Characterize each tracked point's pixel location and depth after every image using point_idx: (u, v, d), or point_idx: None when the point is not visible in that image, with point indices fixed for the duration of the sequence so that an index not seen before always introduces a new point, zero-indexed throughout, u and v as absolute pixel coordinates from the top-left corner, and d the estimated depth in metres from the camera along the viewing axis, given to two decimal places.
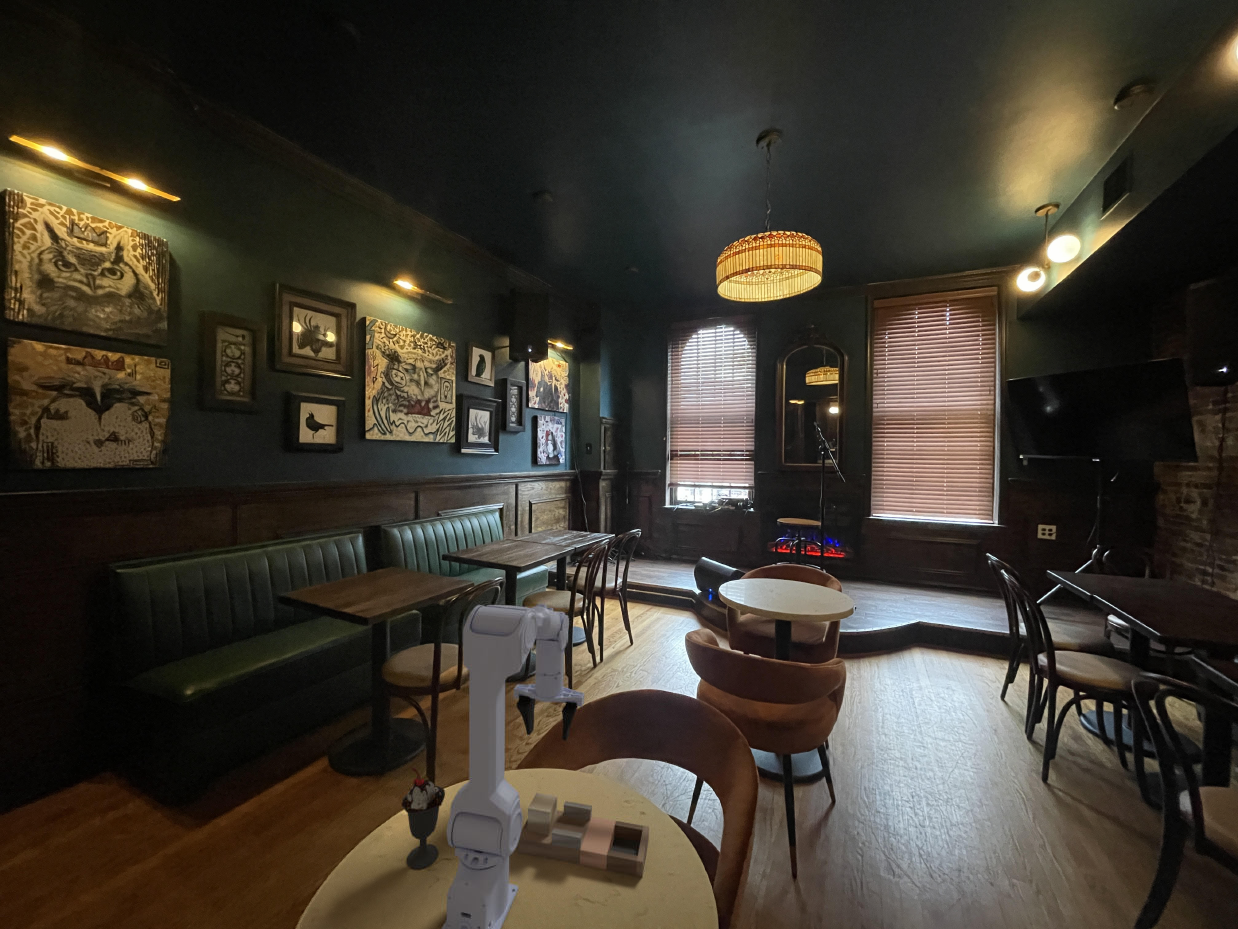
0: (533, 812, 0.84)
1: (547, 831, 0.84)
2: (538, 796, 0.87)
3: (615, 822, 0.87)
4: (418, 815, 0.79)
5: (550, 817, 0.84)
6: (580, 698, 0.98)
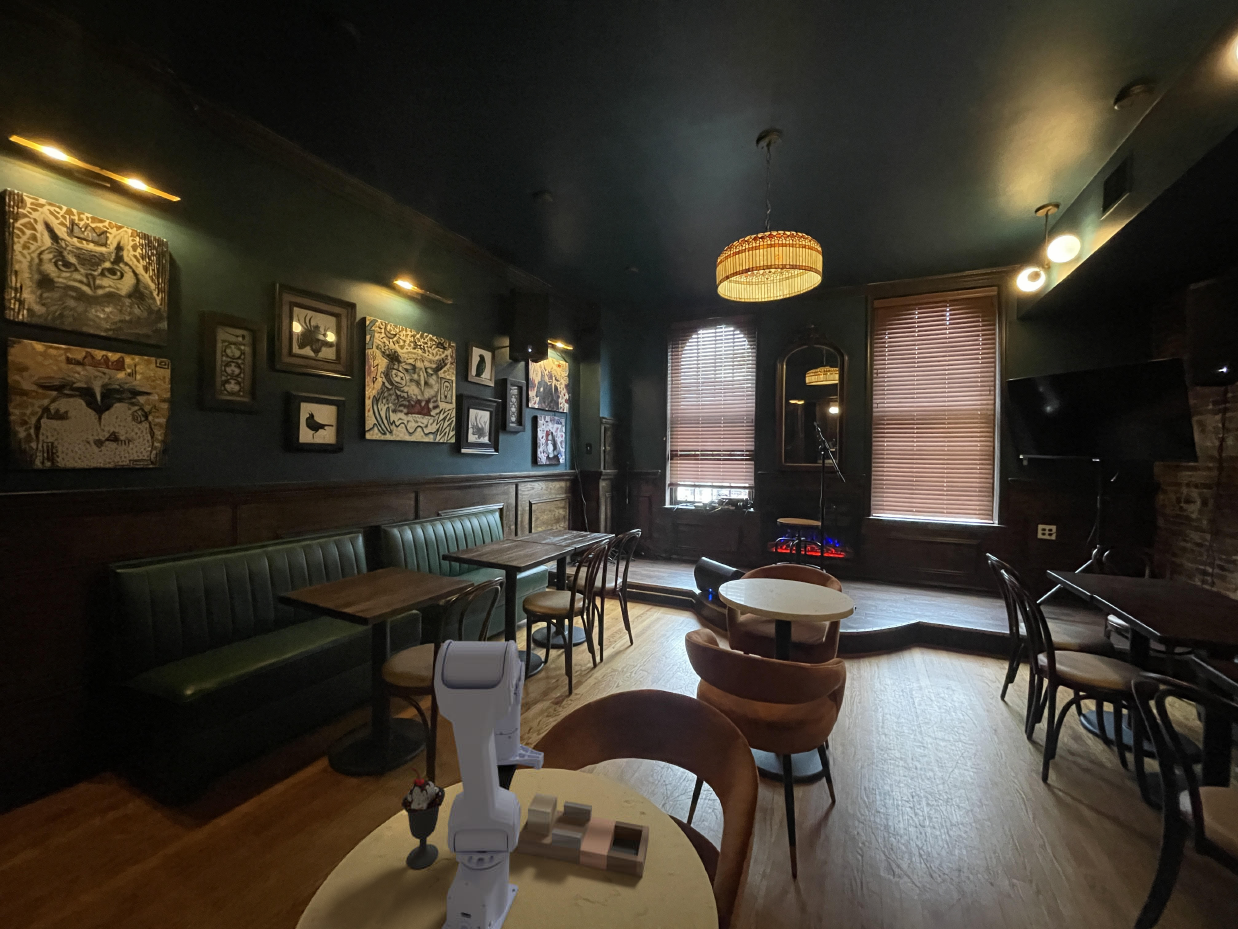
0: (533, 812, 0.84)
1: (547, 831, 0.84)
2: (538, 796, 0.87)
3: (615, 822, 0.87)
4: (418, 815, 0.79)
5: (550, 817, 0.84)
6: (538, 760, 0.85)
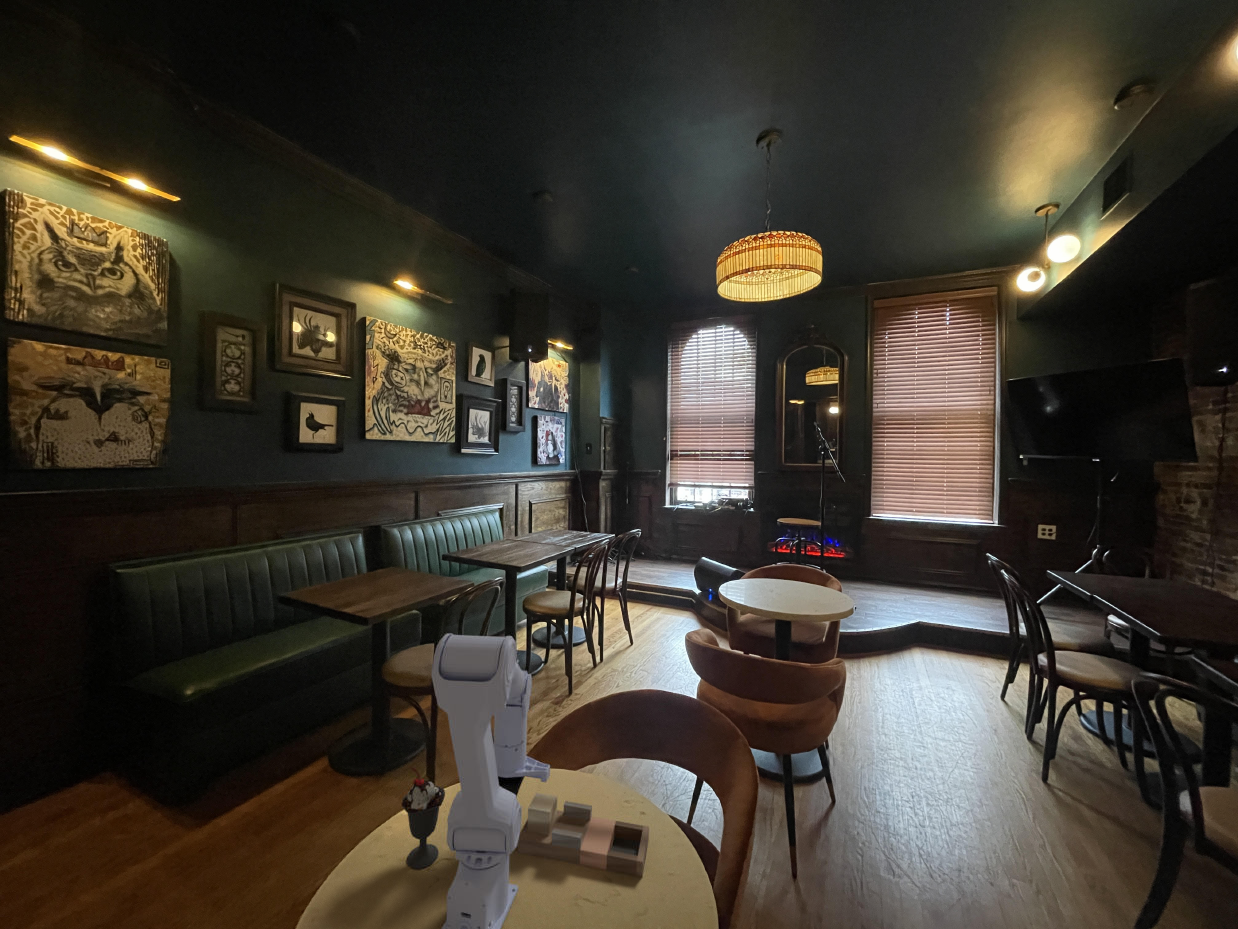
0: (533, 812, 0.84)
1: (547, 831, 0.84)
2: (538, 796, 0.87)
3: (615, 822, 0.87)
4: (418, 815, 0.79)
5: (550, 817, 0.84)
6: (544, 772, 0.85)
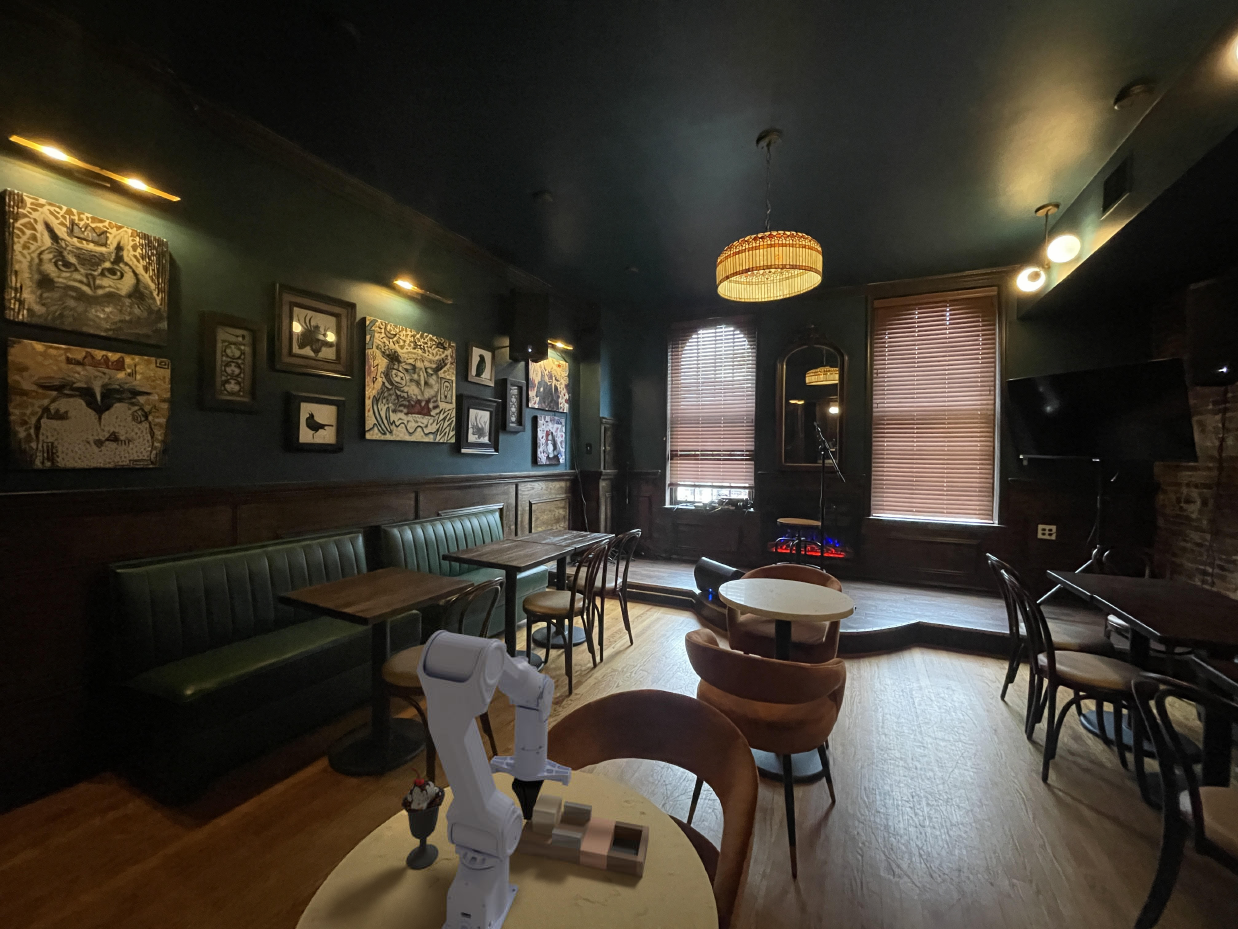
0: (538, 813, 0.84)
1: None
2: (543, 797, 0.87)
3: (615, 822, 0.87)
4: (418, 815, 0.79)
5: (555, 818, 0.84)
6: (566, 776, 0.84)
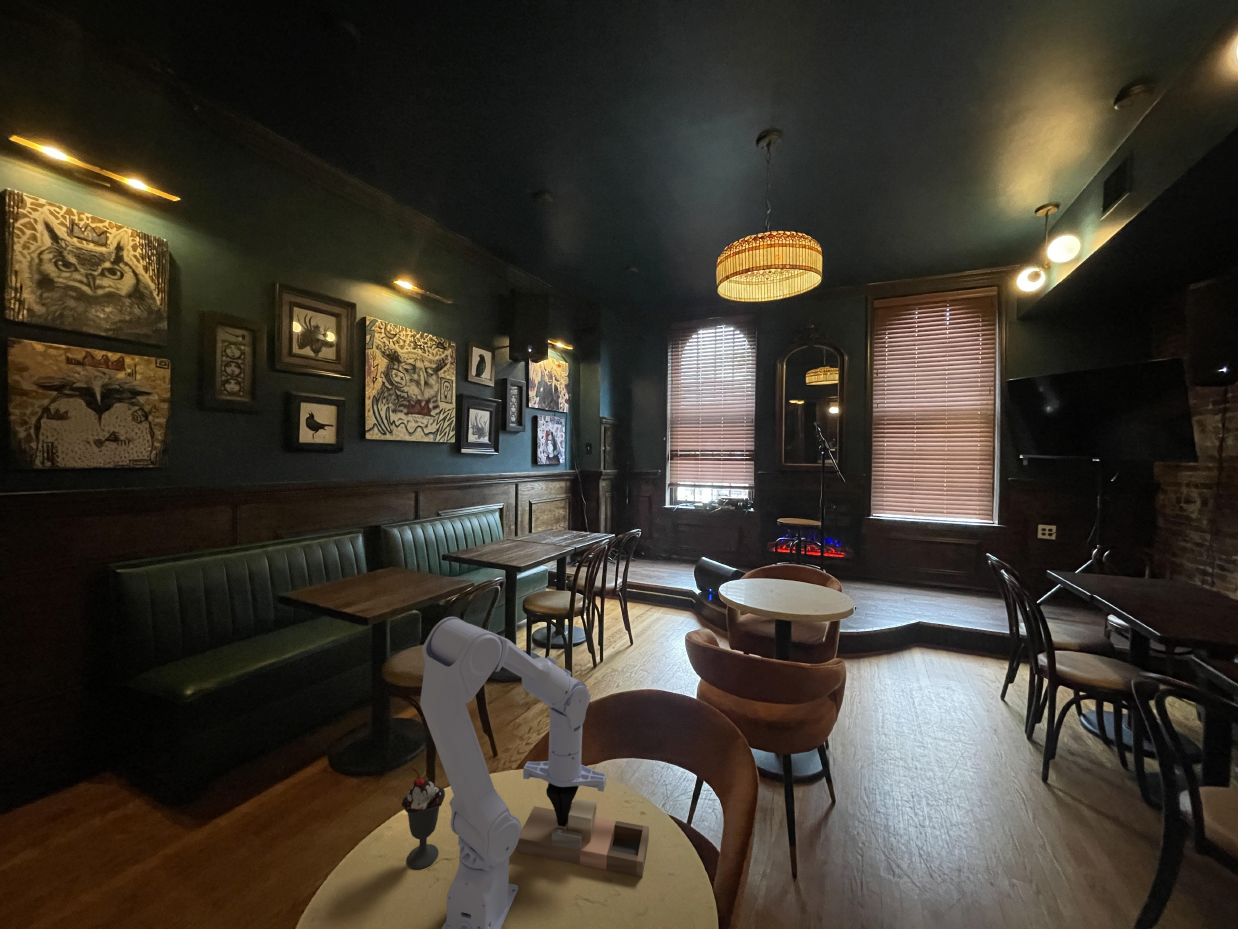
0: (574, 818, 0.83)
1: (588, 838, 0.83)
2: (577, 802, 0.86)
3: (615, 822, 0.87)
4: (418, 815, 0.79)
5: (591, 823, 0.83)
6: (602, 781, 0.83)
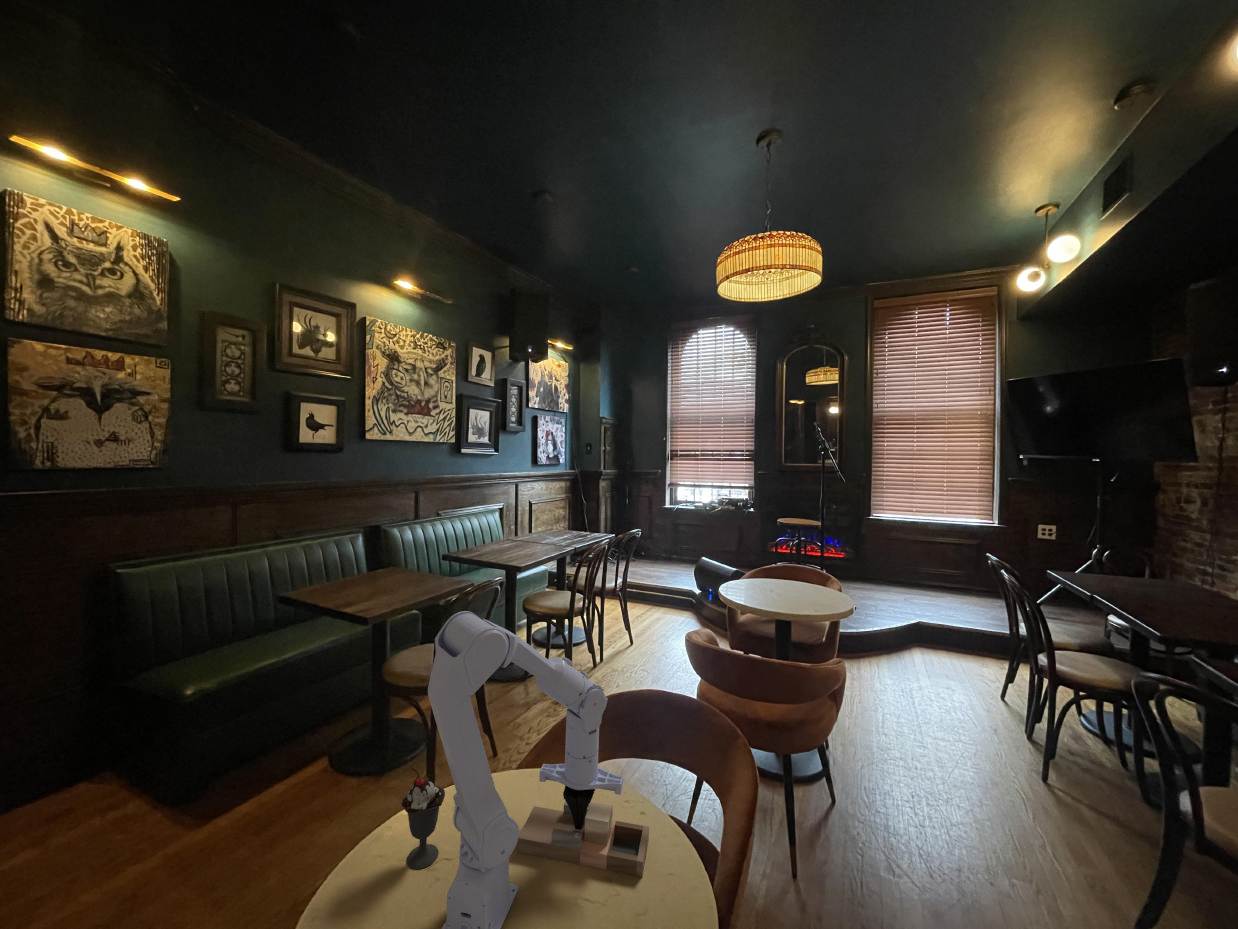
0: (591, 822, 0.83)
1: (605, 841, 0.82)
2: (593, 805, 0.86)
3: (615, 822, 0.87)
4: (418, 815, 0.79)
5: (608, 827, 0.82)
6: (619, 785, 0.82)
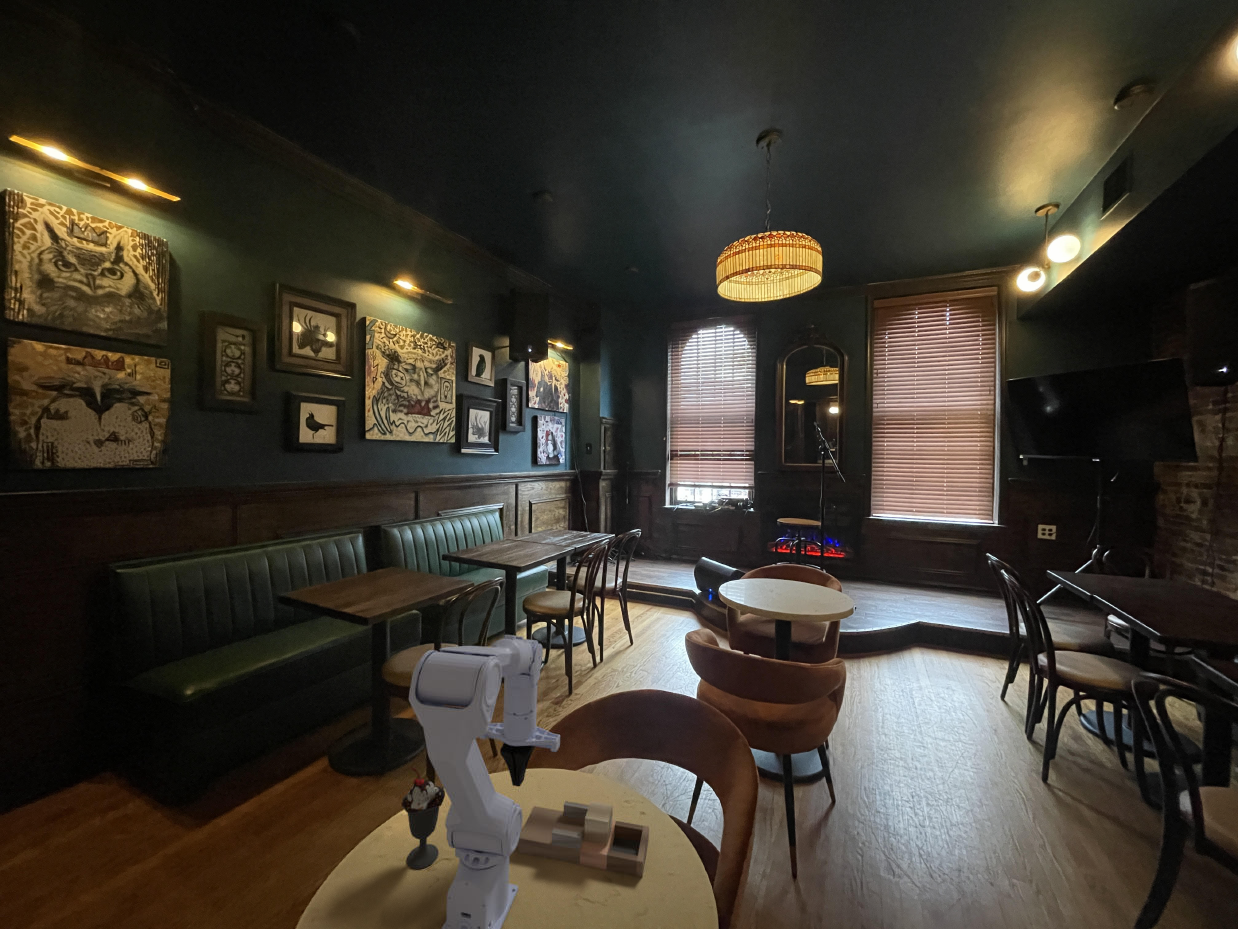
0: (590, 822, 0.83)
1: (605, 841, 0.82)
2: (593, 805, 0.86)
3: (615, 822, 0.87)
4: (418, 815, 0.79)
5: (608, 827, 0.82)
6: (554, 742, 0.84)
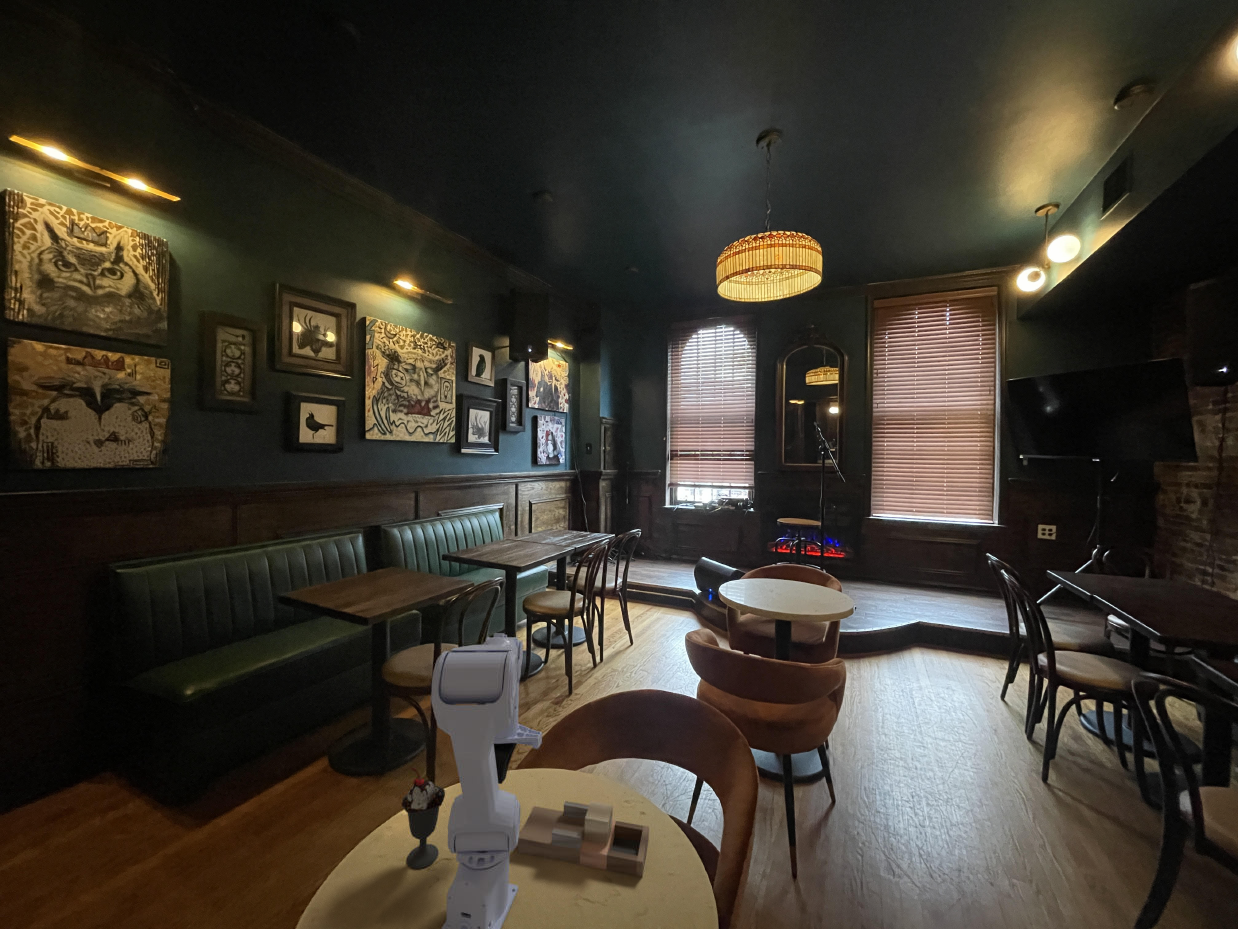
0: (590, 822, 0.83)
1: (605, 841, 0.82)
2: (593, 805, 0.86)
3: (615, 822, 0.87)
4: (418, 815, 0.79)
5: (608, 827, 0.82)
6: (536, 739, 0.85)
